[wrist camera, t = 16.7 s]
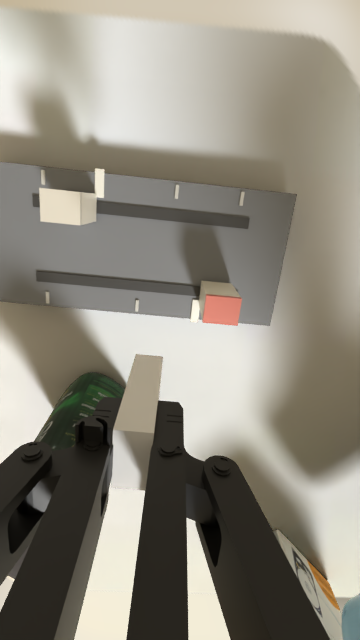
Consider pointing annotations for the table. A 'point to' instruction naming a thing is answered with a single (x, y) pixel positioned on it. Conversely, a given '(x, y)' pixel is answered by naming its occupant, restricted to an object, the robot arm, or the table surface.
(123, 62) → the table surface
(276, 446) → the table surface
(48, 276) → the console
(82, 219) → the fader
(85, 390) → the coffee jar
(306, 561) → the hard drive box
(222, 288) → the block
